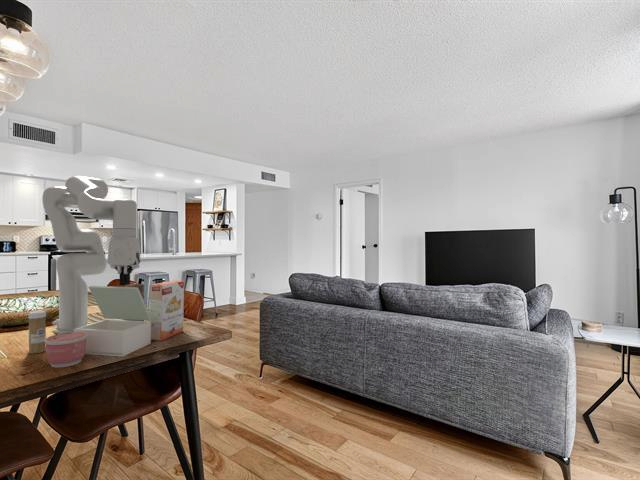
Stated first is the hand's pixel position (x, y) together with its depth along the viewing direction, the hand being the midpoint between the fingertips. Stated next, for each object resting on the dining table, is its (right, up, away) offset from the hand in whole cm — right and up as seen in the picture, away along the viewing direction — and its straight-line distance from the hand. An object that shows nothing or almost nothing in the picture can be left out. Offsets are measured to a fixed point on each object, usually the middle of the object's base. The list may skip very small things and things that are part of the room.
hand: (124, 284), depth 124 cm
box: (-1, -21, -5) cm, 22 cm away
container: (-7, -22, -19) cm, 30 cm away
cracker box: (+11, -22, +11) cm, 26 cm away
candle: (-3, -22, +11) cm, 24 cm away
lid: (-1, -7, -2) cm, 7 cm away
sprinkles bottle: (-24, -21, -9) cm, 33 cm away
